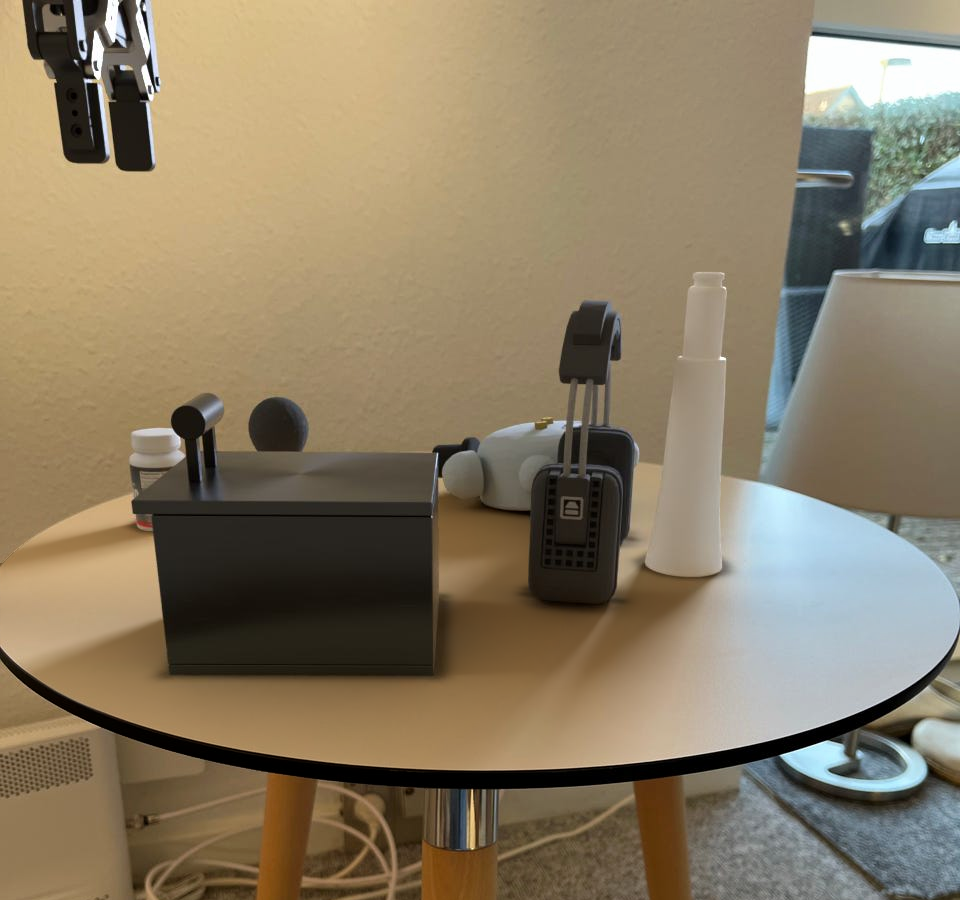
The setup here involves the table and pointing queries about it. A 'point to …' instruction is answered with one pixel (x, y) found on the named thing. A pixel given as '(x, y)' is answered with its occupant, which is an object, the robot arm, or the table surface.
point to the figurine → (502, 463)
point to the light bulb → (278, 426)
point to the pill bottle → (152, 462)
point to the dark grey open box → (299, 593)
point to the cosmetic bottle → (694, 442)
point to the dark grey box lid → (284, 477)
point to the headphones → (583, 475)
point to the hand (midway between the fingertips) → (113, 167)
